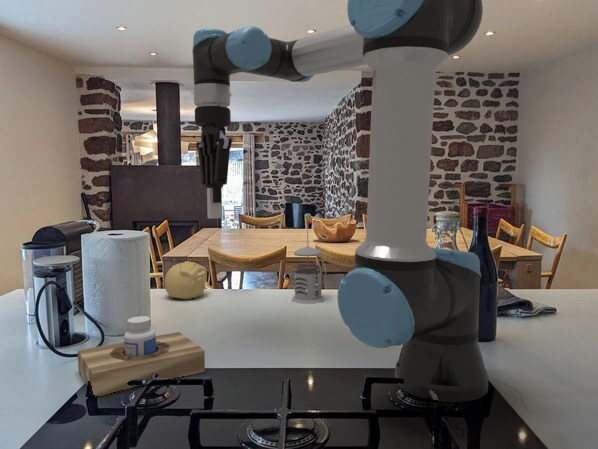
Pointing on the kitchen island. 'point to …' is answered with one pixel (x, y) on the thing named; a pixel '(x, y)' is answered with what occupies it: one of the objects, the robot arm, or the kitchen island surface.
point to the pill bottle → (139, 337)
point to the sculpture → (185, 280)
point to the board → (139, 363)
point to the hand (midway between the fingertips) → (214, 218)
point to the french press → (308, 276)
